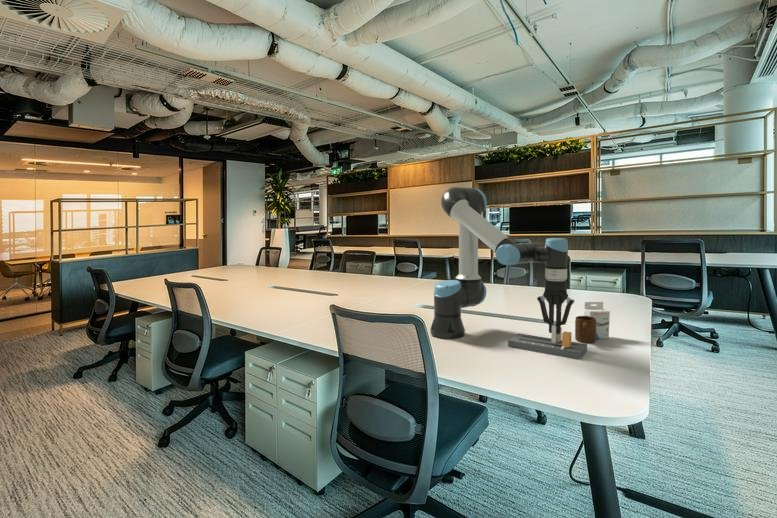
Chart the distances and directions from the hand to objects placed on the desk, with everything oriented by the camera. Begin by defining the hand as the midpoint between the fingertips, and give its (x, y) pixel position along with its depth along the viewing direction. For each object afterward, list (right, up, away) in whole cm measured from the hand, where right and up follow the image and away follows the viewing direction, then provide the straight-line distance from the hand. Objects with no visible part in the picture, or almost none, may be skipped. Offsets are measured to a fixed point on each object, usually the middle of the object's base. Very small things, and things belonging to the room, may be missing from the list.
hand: (554, 341), depth 144 cm
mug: (+17, -3, +11) cm, 21 cm away
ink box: (+25, -2, +17) cm, 30 cm away
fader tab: (+3, -1, -3) cm, 4 cm away
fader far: (+3, 0, +4) cm, 5 cm away
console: (-1, -3, +4) cm, 5 cm away
